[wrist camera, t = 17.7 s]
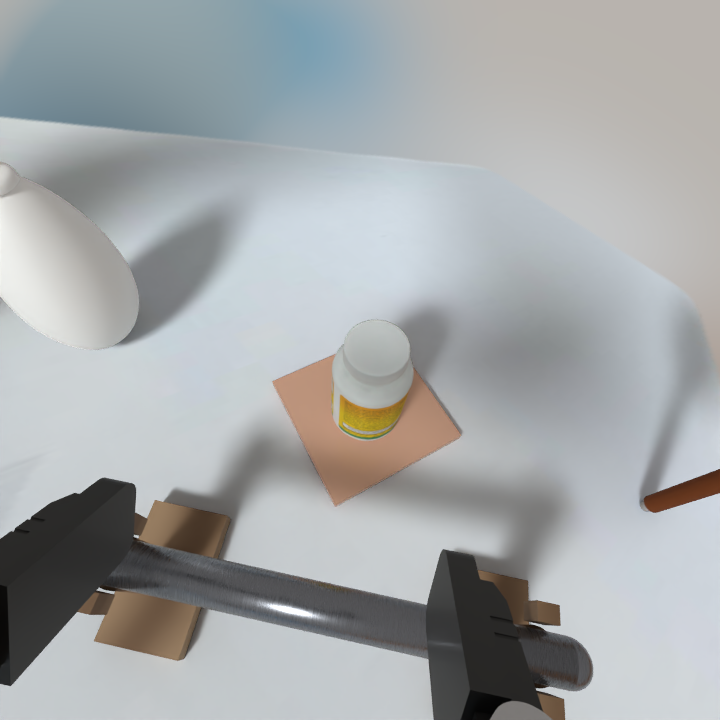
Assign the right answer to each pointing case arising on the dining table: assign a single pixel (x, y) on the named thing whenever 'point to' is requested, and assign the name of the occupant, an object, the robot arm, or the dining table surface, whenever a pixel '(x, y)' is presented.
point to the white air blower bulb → (61, 268)
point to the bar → (323, 608)
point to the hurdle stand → (177, 620)
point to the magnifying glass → (683, 493)
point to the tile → (355, 457)
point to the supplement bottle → (371, 380)
